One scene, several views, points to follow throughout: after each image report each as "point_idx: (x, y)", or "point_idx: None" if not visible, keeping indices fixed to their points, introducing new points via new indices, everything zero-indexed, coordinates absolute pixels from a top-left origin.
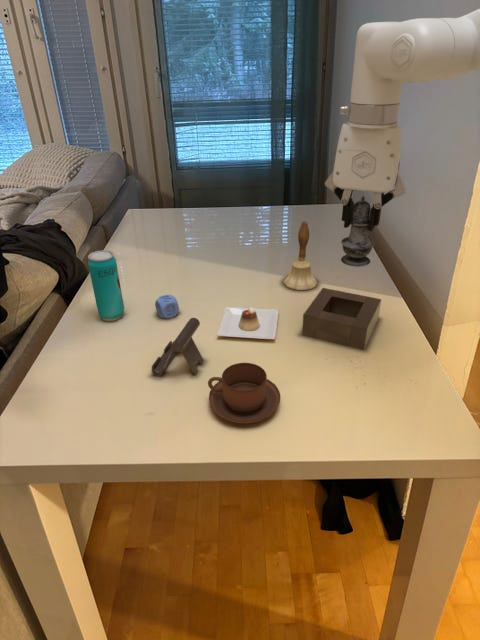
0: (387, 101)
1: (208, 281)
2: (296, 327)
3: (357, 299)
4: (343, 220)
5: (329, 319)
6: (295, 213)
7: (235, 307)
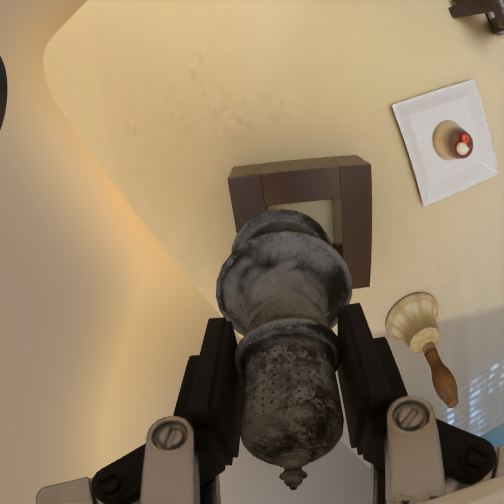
0: None
1: None
2: (375, 175)
3: None
4: (374, 338)
5: (313, 171)
6: None
7: (486, 178)
